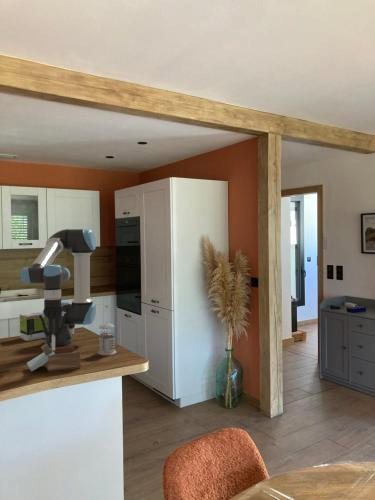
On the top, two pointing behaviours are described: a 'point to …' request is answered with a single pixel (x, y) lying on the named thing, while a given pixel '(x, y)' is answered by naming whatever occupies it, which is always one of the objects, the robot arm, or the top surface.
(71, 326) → the coffee cup
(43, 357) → the grey l-shaped block
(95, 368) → the top surface
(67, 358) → the lid box
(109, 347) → the french press
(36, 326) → the tea box
